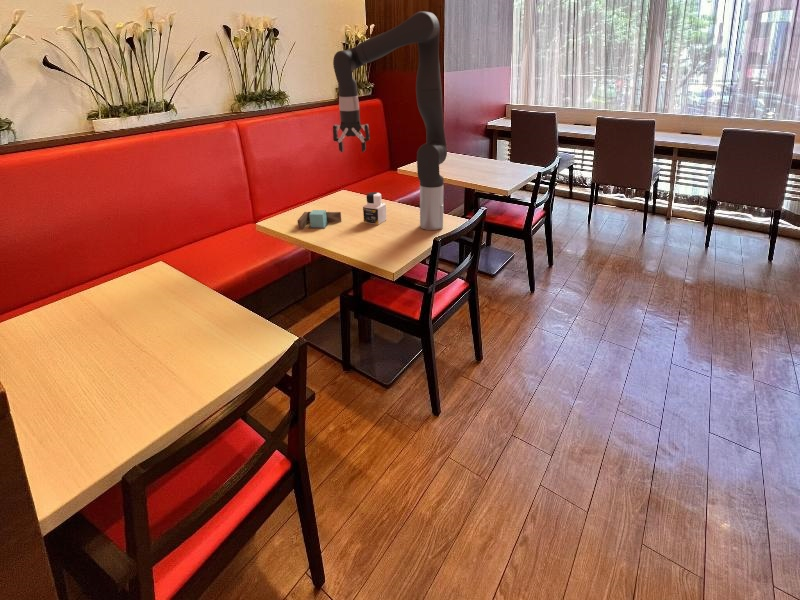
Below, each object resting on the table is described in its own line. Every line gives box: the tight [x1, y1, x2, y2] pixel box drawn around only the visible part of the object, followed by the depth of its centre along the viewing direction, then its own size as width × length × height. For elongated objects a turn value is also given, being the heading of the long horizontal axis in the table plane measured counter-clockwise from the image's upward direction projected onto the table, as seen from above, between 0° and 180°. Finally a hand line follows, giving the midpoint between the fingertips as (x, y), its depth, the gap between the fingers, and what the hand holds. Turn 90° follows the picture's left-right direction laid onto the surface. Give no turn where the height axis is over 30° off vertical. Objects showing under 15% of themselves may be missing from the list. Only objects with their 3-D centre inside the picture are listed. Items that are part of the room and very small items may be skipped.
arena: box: [296, 211, 342, 231], centre depth 201 cm, size 16×11×4 cm
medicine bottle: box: [362, 191, 387, 226], centre depth 201 cm, size 7×7×12 cm
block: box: [309, 209, 327, 228], centre depth 200 cm, size 6×6×6 cm
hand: (352, 151), depth 194 cm, fingers open, 8 cm apart
